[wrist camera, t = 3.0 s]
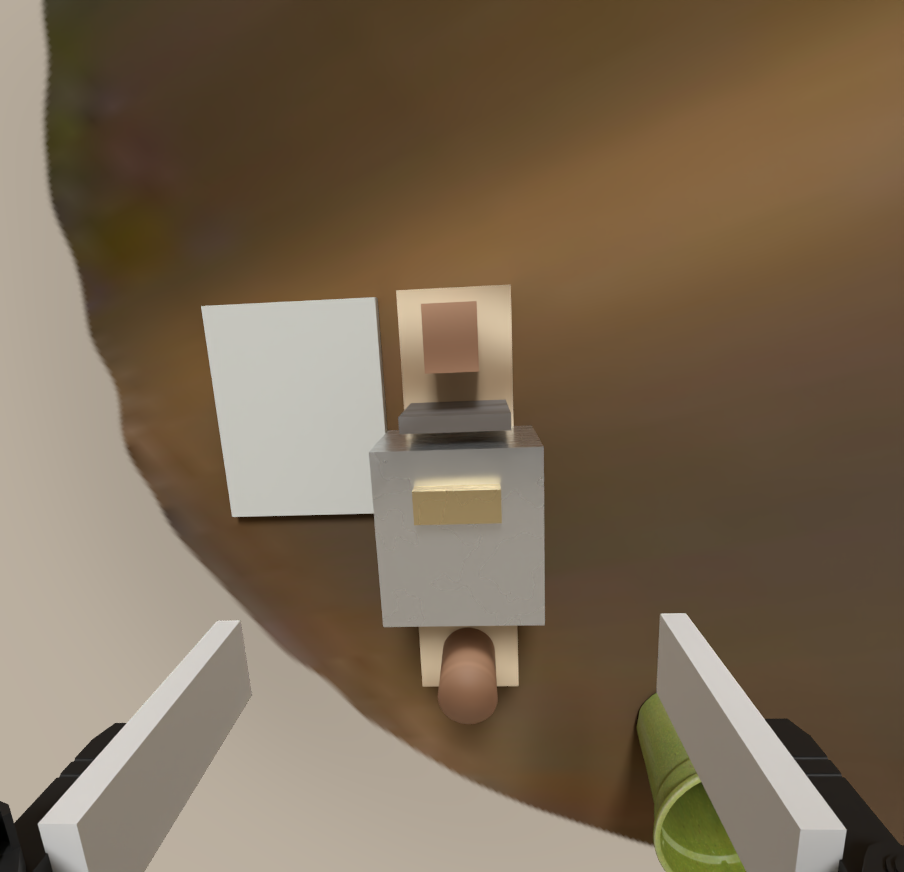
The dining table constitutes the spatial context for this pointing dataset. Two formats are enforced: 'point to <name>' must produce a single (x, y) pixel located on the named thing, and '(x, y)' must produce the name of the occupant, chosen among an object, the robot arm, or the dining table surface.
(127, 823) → the robot arm
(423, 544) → the lever cap
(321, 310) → the rubber mat
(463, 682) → the hand plane
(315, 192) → the dining table surface
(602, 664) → the dining table surface
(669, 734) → the plant pot
